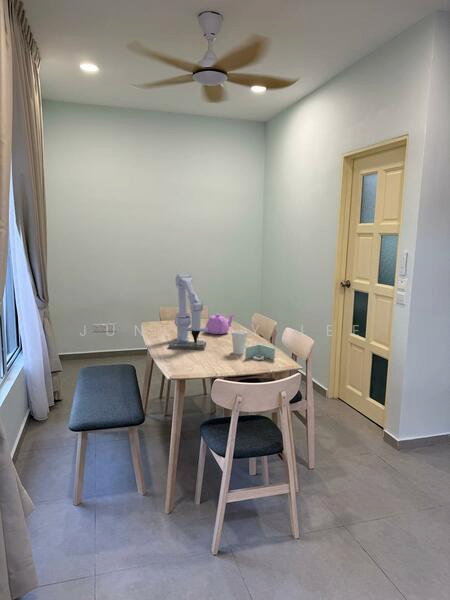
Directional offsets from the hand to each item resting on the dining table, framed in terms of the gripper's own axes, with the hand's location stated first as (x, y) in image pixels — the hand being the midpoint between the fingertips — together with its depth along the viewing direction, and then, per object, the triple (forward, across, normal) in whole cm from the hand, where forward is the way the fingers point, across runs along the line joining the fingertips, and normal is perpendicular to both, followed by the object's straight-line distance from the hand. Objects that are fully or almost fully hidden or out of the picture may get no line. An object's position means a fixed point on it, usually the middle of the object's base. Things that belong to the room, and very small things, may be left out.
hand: (195, 342), depth 258 cm
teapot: (+3, +13, +44) cm, 46 cm away
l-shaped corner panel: (+4, +40, -20) cm, 45 cm away
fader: (+1, +3, 0) cm, 3 cm away
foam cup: (+3, +27, -8) cm, 29 cm away
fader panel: (+3, -5, 0) cm, 6 cm away
